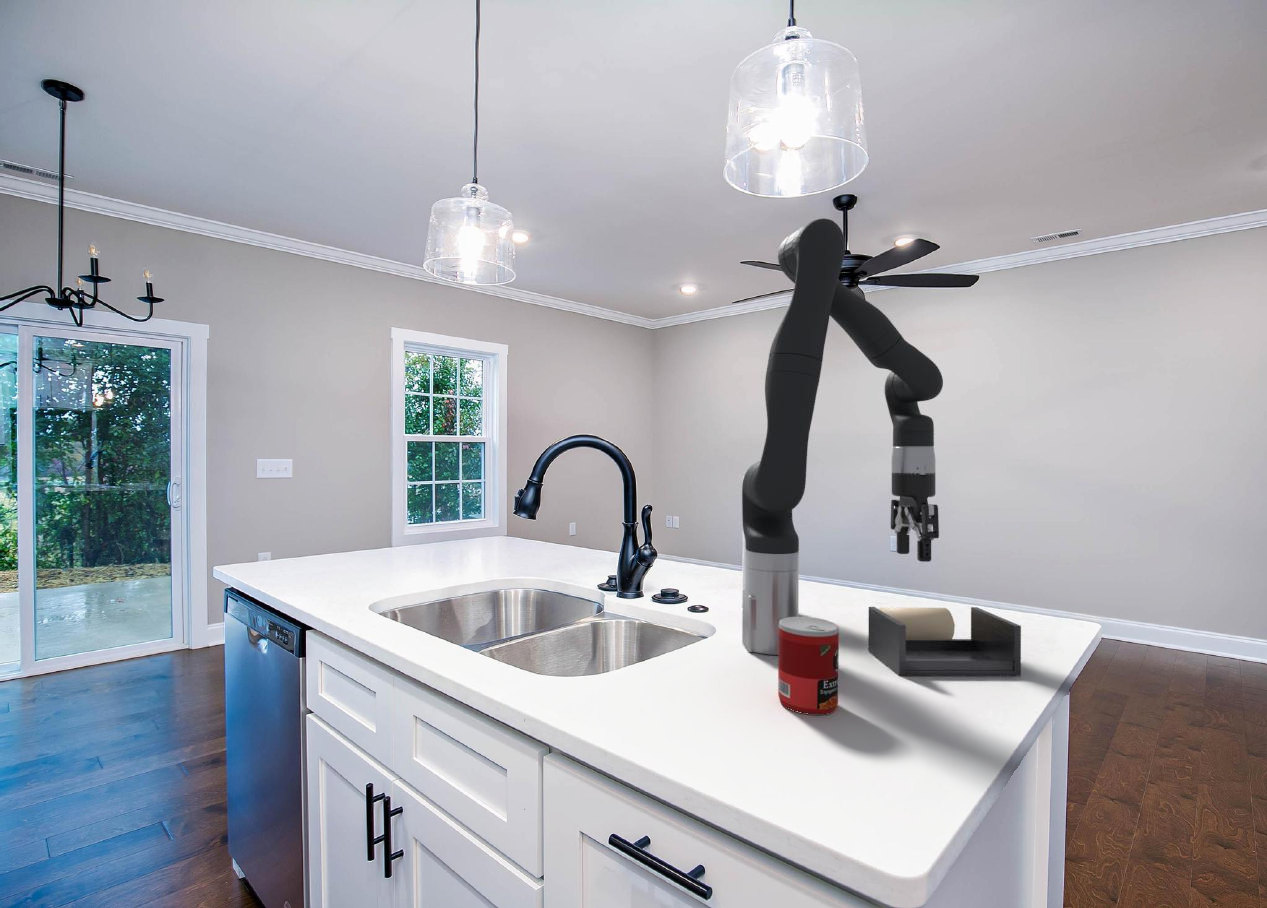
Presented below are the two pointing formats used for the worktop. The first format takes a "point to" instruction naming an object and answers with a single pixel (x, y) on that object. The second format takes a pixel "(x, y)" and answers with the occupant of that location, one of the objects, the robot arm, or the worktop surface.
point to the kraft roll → (923, 622)
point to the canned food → (808, 664)
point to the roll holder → (948, 648)
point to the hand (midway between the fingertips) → (913, 557)
